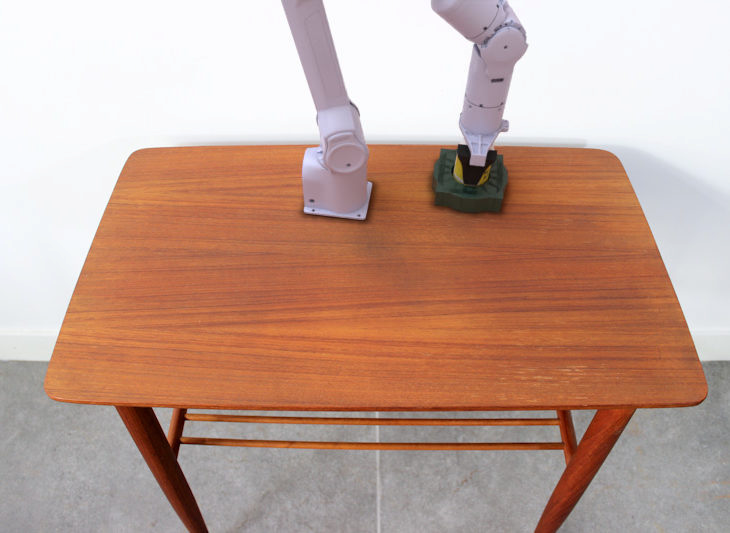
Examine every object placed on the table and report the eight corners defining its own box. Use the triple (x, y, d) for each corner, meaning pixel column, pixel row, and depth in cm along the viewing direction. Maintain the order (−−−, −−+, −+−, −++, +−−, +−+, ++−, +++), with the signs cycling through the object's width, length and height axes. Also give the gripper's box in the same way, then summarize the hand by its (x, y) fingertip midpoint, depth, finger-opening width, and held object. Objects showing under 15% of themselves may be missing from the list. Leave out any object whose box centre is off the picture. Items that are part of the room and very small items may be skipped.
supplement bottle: (485, 196, 93) (496, 147, 85) (450, 191, 93) (458, 141, 85) (487, 173, 96) (499, 123, 88) (454, 168, 96) (462, 118, 89)
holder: (429, 208, 92) (431, 194, 90) (434, 158, 99) (436, 144, 97) (504, 216, 91) (507, 202, 89) (504, 166, 98) (507, 152, 96)
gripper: (515, 132, 77) (496, 206, 88) (515, 67, 86) (497, 142, 97) (460, 126, 78) (448, 200, 88) (465, 63, 87) (454, 137, 97)
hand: (471, 169), depth 92 cm, fingers closed on supplement bottle, 5 cm apart
